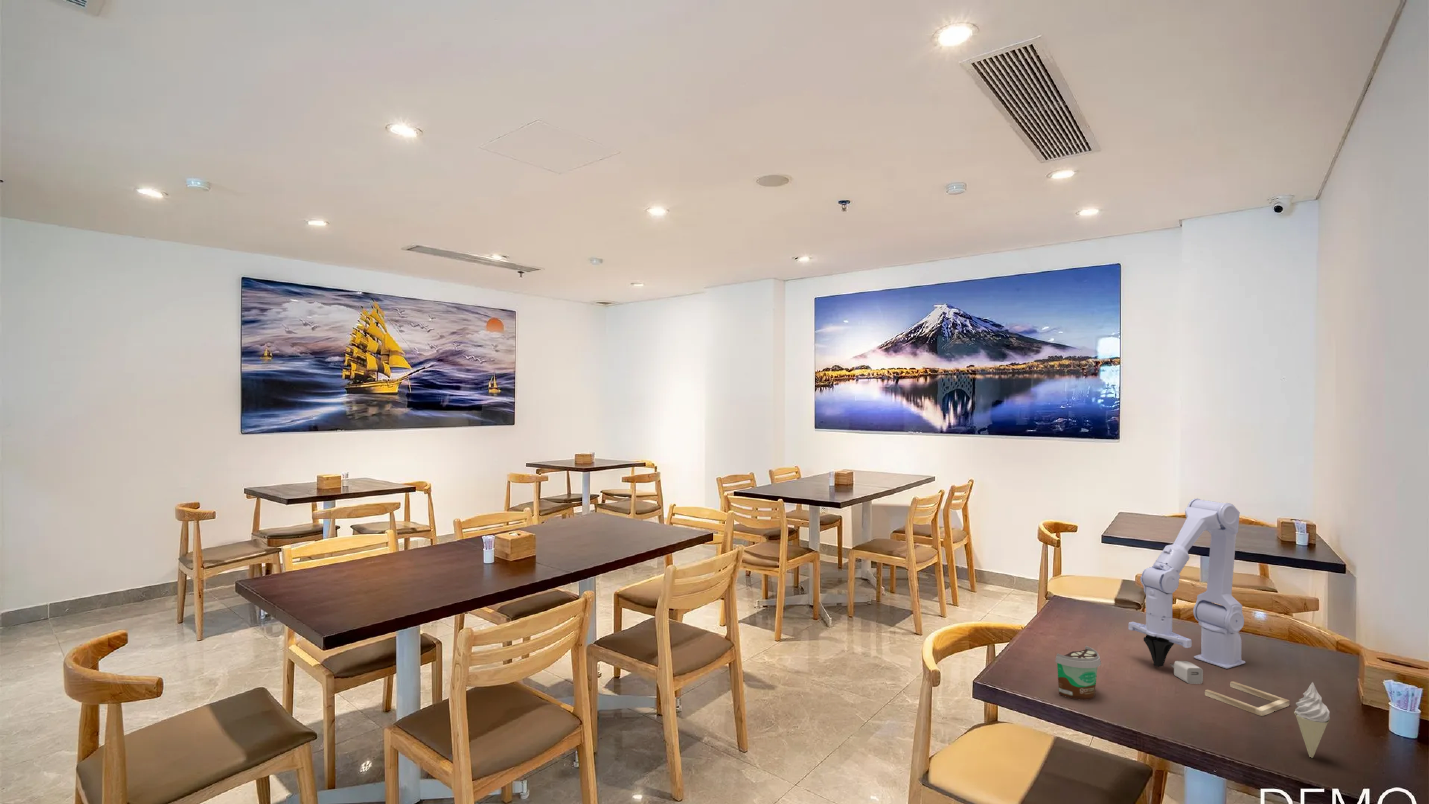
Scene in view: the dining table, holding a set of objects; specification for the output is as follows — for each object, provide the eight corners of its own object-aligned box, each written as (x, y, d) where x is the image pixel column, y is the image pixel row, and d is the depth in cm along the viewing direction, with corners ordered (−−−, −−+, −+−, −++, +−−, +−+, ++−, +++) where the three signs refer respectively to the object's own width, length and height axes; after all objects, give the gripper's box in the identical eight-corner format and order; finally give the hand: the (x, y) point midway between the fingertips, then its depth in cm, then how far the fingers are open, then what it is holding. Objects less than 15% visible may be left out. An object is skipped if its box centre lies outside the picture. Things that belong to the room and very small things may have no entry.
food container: (1080, 706, 143) (1080, 663, 143) (1055, 695, 149) (1055, 653, 149) (1112, 695, 149) (1112, 654, 149) (1086, 685, 154) (1086, 645, 155)
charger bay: (1232, 686, 155) (1232, 681, 155) (1289, 705, 145) (1289, 700, 145) (1204, 695, 150) (1204, 690, 150) (1261, 716, 140) (1261, 711, 140)
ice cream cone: (1332, 767, 120) (1333, 689, 120) (1297, 759, 123) (1297, 682, 123) (1324, 755, 124) (1325, 679, 124) (1290, 747, 127) (1291, 673, 127)
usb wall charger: (1186, 683, 156) (1187, 667, 156) (1166, 672, 163) (1166, 656, 163) (1202, 684, 156) (1202, 668, 156) (1181, 672, 163) (1181, 657, 163)
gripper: (1121, 607, 170) (1121, 657, 170) (1180, 625, 157) (1180, 679, 157) (1137, 604, 173) (1137, 653, 173) (1196, 621, 160) (1196, 674, 160)
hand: (1158, 665), depth 165 cm, fingers closed
